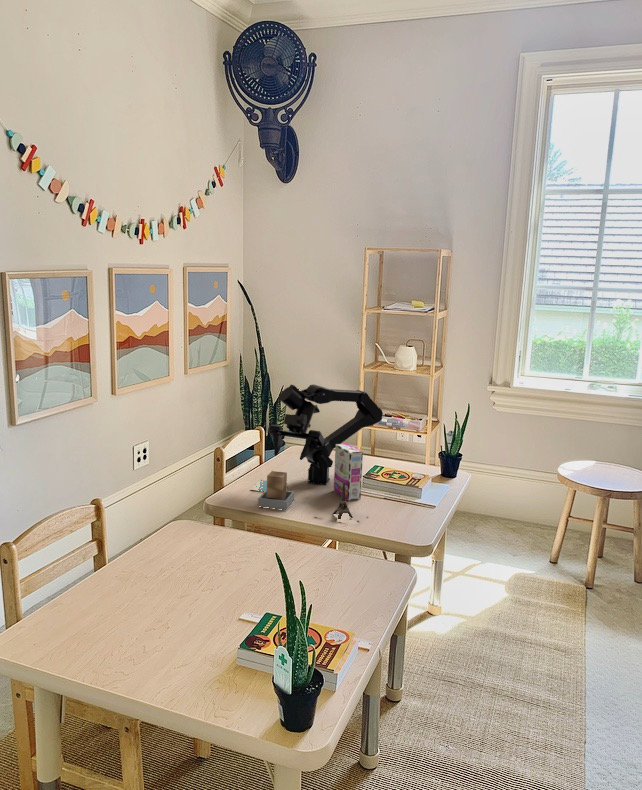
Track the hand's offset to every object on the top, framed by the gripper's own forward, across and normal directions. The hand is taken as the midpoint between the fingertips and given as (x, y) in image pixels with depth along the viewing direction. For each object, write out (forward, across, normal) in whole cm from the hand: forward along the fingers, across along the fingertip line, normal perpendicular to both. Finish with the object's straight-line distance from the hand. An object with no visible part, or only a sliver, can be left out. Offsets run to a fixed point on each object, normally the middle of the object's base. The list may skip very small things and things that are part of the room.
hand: (287, 457), depth 214 cm
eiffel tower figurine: (+16, +22, +4) cm, 28 cm away
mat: (+6, -9, +13) cm, 17 cm away
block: (+15, 0, +4) cm, 15 cm away
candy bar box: (+2, +17, +17) cm, 24 cm away
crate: (+15, 0, +4) cm, 15 cm away
